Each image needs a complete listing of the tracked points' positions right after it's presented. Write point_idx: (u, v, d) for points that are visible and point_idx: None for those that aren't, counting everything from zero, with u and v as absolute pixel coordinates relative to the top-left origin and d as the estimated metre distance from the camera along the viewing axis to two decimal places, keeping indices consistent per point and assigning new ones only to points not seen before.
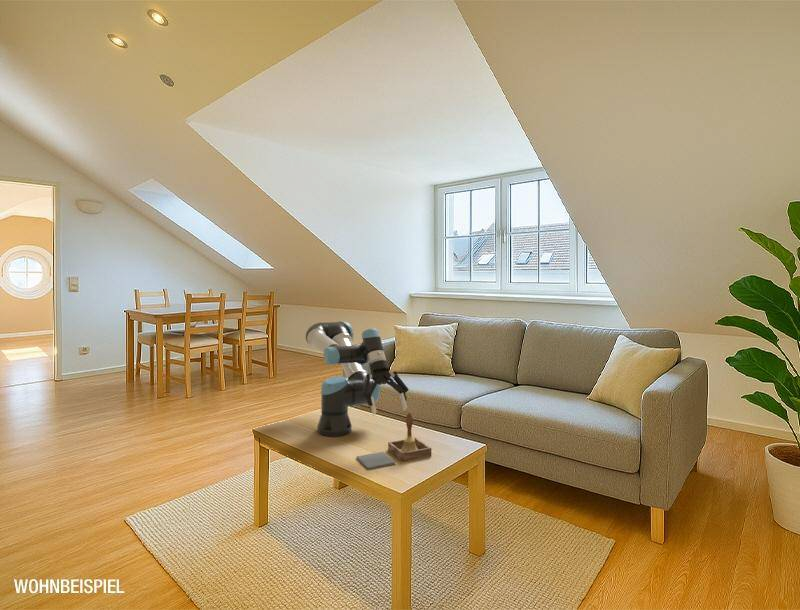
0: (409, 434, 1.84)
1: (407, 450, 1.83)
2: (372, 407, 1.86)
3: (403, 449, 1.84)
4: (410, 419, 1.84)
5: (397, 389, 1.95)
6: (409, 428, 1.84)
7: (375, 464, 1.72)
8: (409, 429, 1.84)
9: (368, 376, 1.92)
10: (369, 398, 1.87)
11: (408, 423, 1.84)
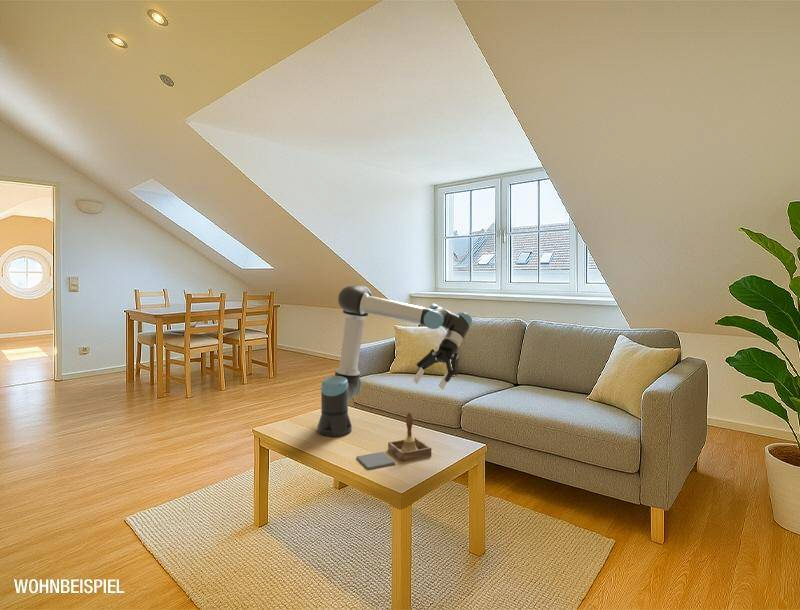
0: (409, 434, 1.84)
1: (407, 450, 1.83)
2: (444, 382, 1.88)
3: (403, 449, 1.84)
4: (410, 419, 1.84)
5: (426, 365, 1.99)
6: (409, 428, 1.84)
7: (375, 464, 1.72)
8: (409, 429, 1.84)
9: None
10: None
11: (408, 423, 1.84)
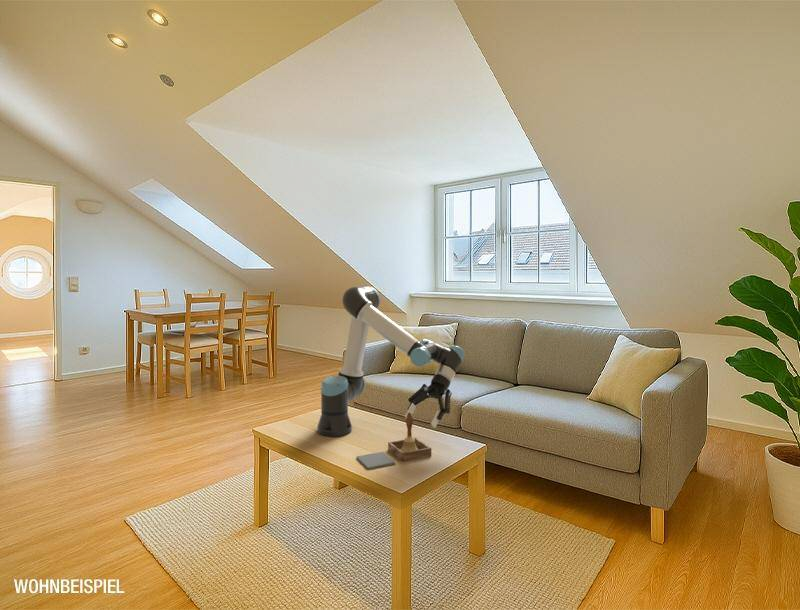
0: (409, 434, 1.84)
1: (407, 450, 1.83)
2: (436, 421, 1.84)
3: (403, 449, 1.84)
4: (410, 419, 1.84)
5: (418, 401, 1.95)
6: (409, 428, 1.84)
7: (375, 464, 1.72)
8: (409, 429, 1.84)
9: None
10: None
11: (408, 423, 1.84)
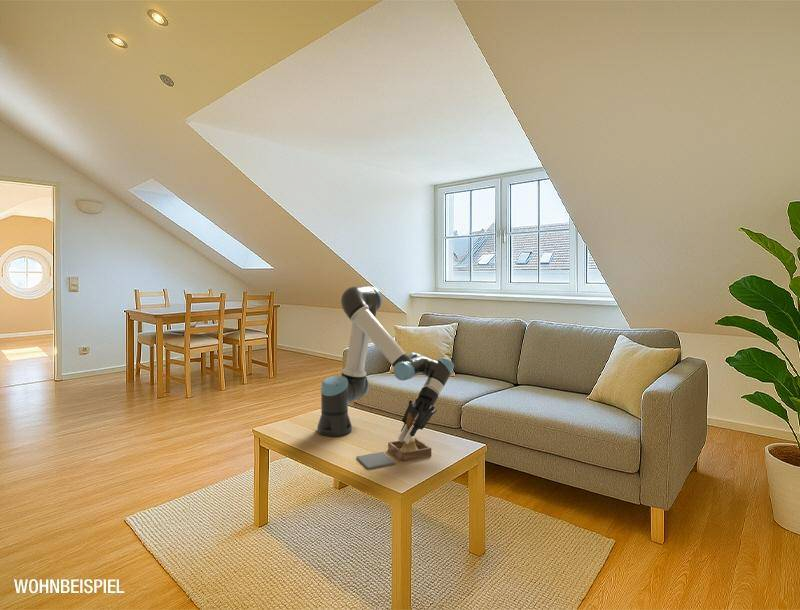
0: None
1: (407, 450, 1.83)
2: (409, 437, 1.82)
3: (403, 449, 1.84)
4: (410, 419, 1.84)
5: None
6: (409, 428, 1.84)
7: (375, 464, 1.72)
8: None
9: None
10: None
11: (408, 423, 1.84)
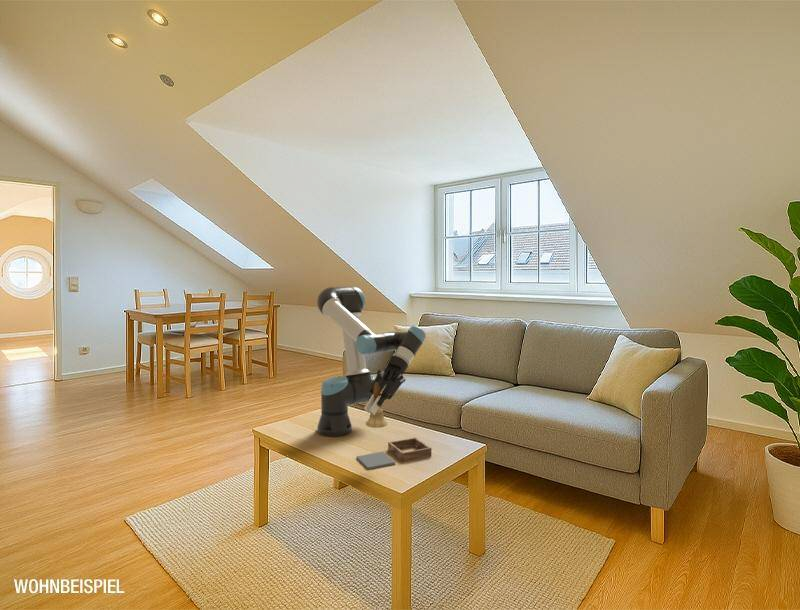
0: None
1: (374, 421, 1.73)
2: (376, 407, 1.73)
3: (370, 420, 1.74)
4: (377, 388, 1.74)
5: None
6: (376, 398, 1.74)
7: (375, 464, 1.72)
8: None
9: None
10: None
11: (375, 393, 1.74)
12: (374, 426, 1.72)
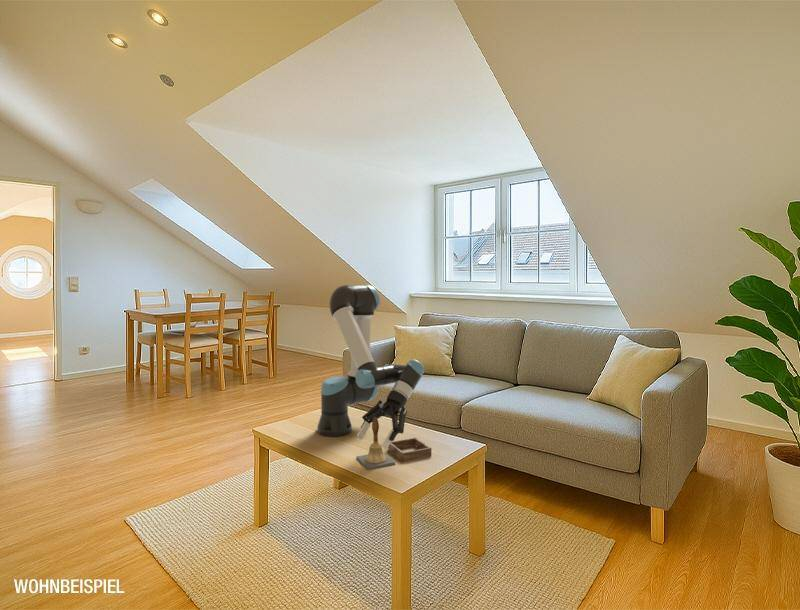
0: (375, 440, 1.76)
1: (373, 456, 1.74)
2: (388, 441, 1.71)
3: (369, 455, 1.75)
4: (376, 424, 1.75)
5: (372, 419, 1.83)
6: (375, 433, 1.75)
7: (375, 464, 1.72)
8: (375, 434, 1.76)
9: None
10: None
11: (374, 428, 1.75)
12: (373, 462, 1.73)
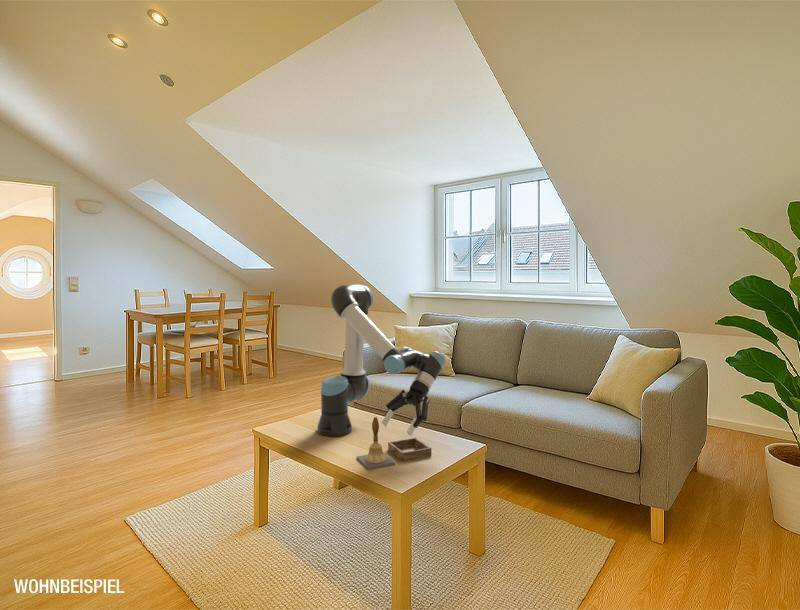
0: (375, 440, 1.76)
1: (373, 456, 1.74)
2: (412, 428, 1.80)
3: (369, 455, 1.75)
4: (376, 424, 1.75)
5: (396, 407, 1.92)
6: (375, 433, 1.75)
7: (375, 464, 1.72)
8: (375, 434, 1.76)
9: None
10: None
11: (374, 428, 1.75)
12: (373, 462, 1.73)
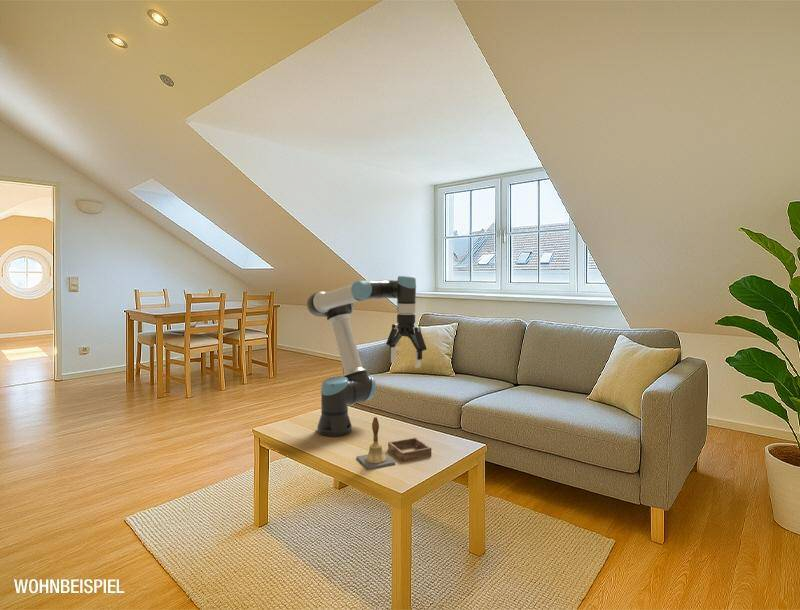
0: (375, 440, 1.76)
1: (373, 456, 1.74)
2: (418, 361, 1.90)
3: (369, 455, 1.75)
4: (376, 424, 1.75)
5: (395, 342, 1.98)
6: (375, 433, 1.75)
7: (375, 464, 1.72)
8: (375, 434, 1.76)
9: None
10: None
11: (374, 428, 1.75)
12: (373, 462, 1.73)
